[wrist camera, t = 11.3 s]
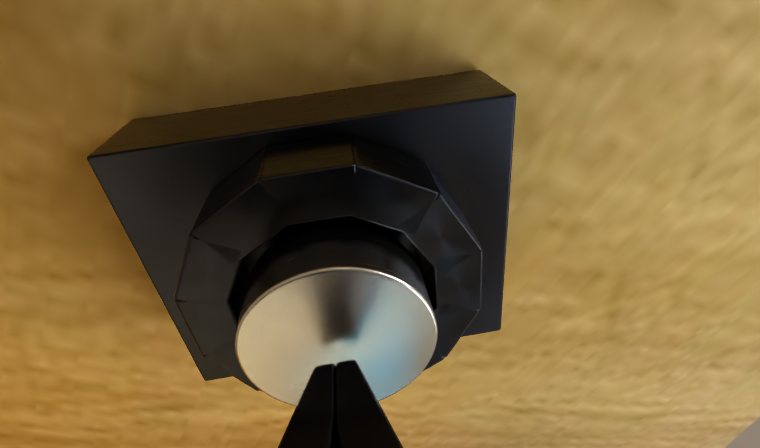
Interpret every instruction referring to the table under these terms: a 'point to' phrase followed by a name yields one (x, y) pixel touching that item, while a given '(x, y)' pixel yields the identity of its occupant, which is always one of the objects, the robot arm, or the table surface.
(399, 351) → the power button
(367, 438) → the robot arm
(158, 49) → the table surface
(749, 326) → the table surface
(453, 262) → the switch block
